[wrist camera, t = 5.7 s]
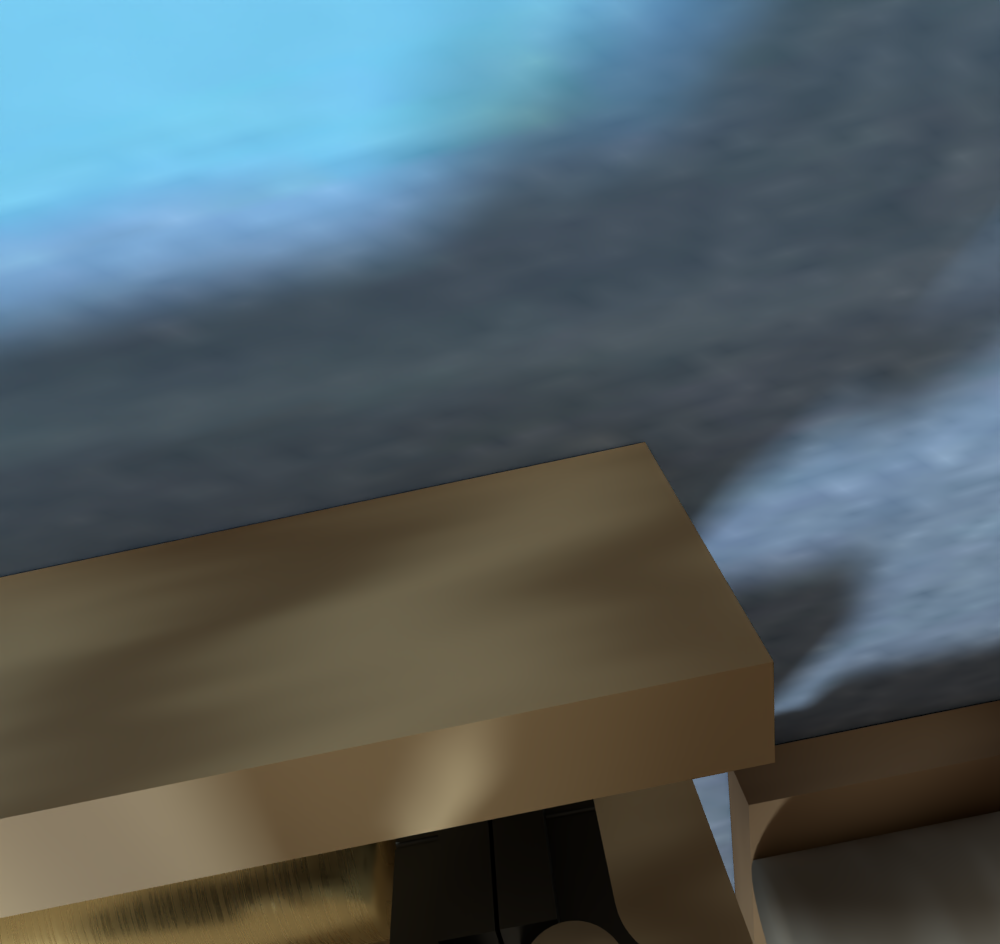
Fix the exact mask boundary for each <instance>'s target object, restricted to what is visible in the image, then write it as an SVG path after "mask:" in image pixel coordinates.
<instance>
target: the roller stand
mask: <svg viewBox="0 0 1000 944" xmlns="http://www.w3.org/2000/svg"><path fill="white" fill-rule="evenodd" d="M728 782H729V798H730V815H731V831H732V847H733V863H734V880H735V896H736V899H737V901H738V904H739V907H740V910H741V912H742V915H743V918H744V920H745V923H746V926H747V928H748V931H749V934H750V936H751V939H752V942H753V944H1000V700H999V701H994V702H989V703H984V704H979V705H974V706H969V707H964V708H959V709H954V710H949V711H944V712H939V713H935V714H930V715H925V716H920V717H915V718H910V719H905V720H900V721H895V722H890V723H885V724H880V725H875V726H870V727H865V728H860V729H855V730H850V731H845V732H840V733H835V734H830V735H825V736H820V737H815V738H810V739H805V740H800V741H795V742H790V743H785V744H780V745H776V746H775V763H770V764H765V765H760V766H755V767H750V768H745V769H740V770H735V771H730V772H728Z"/></svg>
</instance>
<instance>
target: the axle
mask: <svg viewBox="0 0 1000 944" xmlns="http://www.w3.org/2000/svg"><path fill="white" fill-rule="evenodd" d="M395 849H396V839H392V840H387V841H382V842H377V843H372V844H367V845H362V846H357V847H352V848H347V849H342V850H337V851H332V852H327V853H322V854H317V855H312V856H307V857H302V858H297V859H292V860H287V861H282V862H277V863H272V864H267V865H262V866H257V867H252V868H247V869H242V870H237V871H232V872H227V873H222V874H217V875H212V876H207V877H202V878H197V879H192V880H187V881H182V882H177V883H172V884H167V885H163V886H158V887H153V888H148V889H143V890H138V891H133V892H128V893H123V894H118V895H113V896H108V897H103V898H98V899H93V900H88V901H83V902H78V903H73V904H68V905H63V906H58V907H53V908H48V909H43V910H38V911H33V912H28V913H23V914H18V915H13V916H8V917H3V918H0V944H371V943H376V942H381V941H386V940H390V926H391V909H392V893H393V876H394V860H395Z"/></svg>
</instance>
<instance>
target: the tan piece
mask: <svg viewBox="0 0 1000 944" xmlns="http://www.w3.org/2000/svg"><path fill="white" fill-rule="evenodd" d="M770 763H775V727H774V662H773V660H772V658H771V656H770V655H769V653H768V651H767V650H766V648H765V646H764V645H763V643H762V641H761V639H760V638H759V636H758V634H757V633H756V631H755V629H754V627H753V626H752V624H751V622H750V621H749V619H748V617H747V615H746V614H745V612H744V610H743V609H742V607H741V605H740V604H739V602H738V600H737V598H736V597H735V595H734V593H733V592H732V590H731V588H730V586H729V585H728V583H727V581H726V580H725V578H724V576H723V575H722V573H721V571H720V569H719V568H718V566H717V564H716V563H715V561H714V559H713V557H712V556H711V554H710V552H709V551H708V549H707V547H706V545H705V544H704V542H703V540H702V539H701V537H700V535H699V534H698V532H697V530H696V528H695V527H694V525H693V523H692V522H691V520H690V518H689V516H688V515H687V513H686V511H685V510H684V508H683V506H682V505H681V503H680V501H679V499H678V498H677V496H676V494H675V493H674V491H673V489H672V487H671V486H670V484H669V482H668V481H667V479H666V477H665V475H664V474H663V472H662V470H661V469H660V467H659V465H658V464H657V462H656V460H655V458H654V457H653V455H652V453H651V452H650V450H649V448H648V446H647V445H646V443H645V442H643V443H639V444H634V445H629V446H624V447H620V448H615V449H610V450H605V451H601V452H596V453H591V454H586V455H581V456H577V457H572V458H567V459H562V460H558V461H553V462H548V463H543V464H539V465H534V466H529V467H524V468H520V469H515V470H510V471H505V472H500V473H496V474H491V475H486V476H481V477H477V478H472V479H467V480H462V481H458V482H453V483H448V484H443V485H439V486H434V487H429V488H424V489H419V490H415V491H410V492H405V493H400V494H396V495H391V496H386V497H381V498H377V499H372V500H367V501H362V502H358V503H353V504H348V505H343V506H338V507H334V508H329V509H324V510H319V511H315V512H310V513H305V514H300V515H296V516H291V517H286V518H281V519H277V520H272V521H267V522H262V523H257V524H253V525H248V526H243V527H238V528H234V529H229V530H224V531H219V532H215V533H210V534H205V535H200V536H196V537H191V538H186V539H181V540H176V541H172V542H167V543H162V544H157V545H153V546H148V547H143V548H138V549H134V550H129V551H124V552H119V553H115V554H110V555H105V556H100V557H95V558H91V559H86V560H81V561H76V562H72V563H67V564H62V565H57V566H53V567H48V568H43V569H38V570H34V571H29V572H24V573H19V574H14V575H10V576H5V577H0V918H3V917H8V916H13V915H18V914H23V913H28V912H33V911H38V910H43V909H48V908H53V907H58V906H63V905H68V904H73V903H78V902H83V901H88V900H93V899H98V898H103V897H108V896H113V895H118V894H123V893H128V892H133V891H138V890H143V889H148V888H153V887H158V886H163V885H167V884H172V883H177V882H182V881H187V880H192V879H197V878H202V877H207V876H212V875H217V874H222V873H227V872H232V871H237V870H242V869H247V868H252V867H257V866H262V865H267V864H272V863H277V862H282V861H287V860H292V859H297V858H302V857H307V856H312V855H317V854H322V853H327V852H332V851H337V850H342V849H347V848H352V847H357V846H362V845H367V844H372V843H377V842H382V841H387V840H392V839H397V838H402V837H406V836H411V835H416V834H421V833H426V832H431V831H436V830H441V829H446V828H451V827H456V826H461V825H466V824H471V823H476V822H481V821H486V820H491V819H496V818H501V817H506V816H511V815H516V814H521V813H526V812H531V811H536V810H541V809H546V808H551V807H556V806H561V805H566V804H571V803H576V802H581V801H586V800H591V799H593V800H594V804H595V809H596V814H597V819H598V823H599V828H600V833H601V838H602V842H603V847H604V852H605V857H606V861H607V866H608V871H609V876H610V880H611V885H612V890H613V895H614V899H615V904H616V908H617V911H618V914H619V917H620V919H621V921H622V923H623V925H624V926H625V928H626V929H627V931H628V932H629V934H630V935H631V936H632V937H633V938H634V939H635V941H636V942H638V943H639V944H753V942H752V939H751V936H750V934H749V931H748V928H747V926H746V923H745V920H744V918H743V915H742V912H741V910H740V907H739V904H738V901H737V899H736V896H735V893H734V891H733V888H732V885H731V883H730V880H729V877H728V875H727V872H726V869H725V866H724V864H723V861H722V858H721V856H720V853H719V850H718V848H717V845H716V842H715V840H714V837H713V834H712V831H711V829H710V826H709V823H708V821H707V818H706V815H705V813H704V810H703V807H702V805H701V802H700V799H699V796H698V794H697V791H696V788H695V786H694V783H693V780H692V779H695V778H700V777H705V776H710V775H715V774H720V773H725V772H730V771H735V770H740V769H745V768H750V767H755V766H760V765H765V764H770ZM389 943H390V940H386V941H381V942H376V943H371V944H389Z"/></svg>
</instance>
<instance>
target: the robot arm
mask: <svg viewBox="0 0 1000 944" xmlns="http://www.w3.org/2000/svg"><path fill="white" fill-rule="evenodd" d="M389 944H639V943H638V942H636V941H635V939H634V938H633V937H632V936H631V935H630V934H629V932H628V931H627V929H626V928H625V926H624V925H623V923H622V921H621V919H620V917H619V914H618V911H617V908H616V904H615V899H614V895H613V890H612V885H611V880H610V876H609V871H608V866H607V861H606V857H605V852H604V847H603V842H602V838H601V833H600V828H599V823H598V819H597V814H596V809H595V804H594V800H593V799H591V800H586V801H581V802H576V803H571V804H566V805H561V806H556V807H551V808H546V809H541V810H536V811H531V812H526V813H521V814H516V815H511V816H506V817H501V818H496V819H491V820H486V821H481V822H476V823H471V824H466V825H461V826H456V827H451V828H446V829H441V830H436V831H431V832H426V833H421V834H416V835H411V836H406V837H402V838H397V839H396V849H395V860H394V876H393V893H392V909H391V926H390V943H389Z"/></svg>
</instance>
